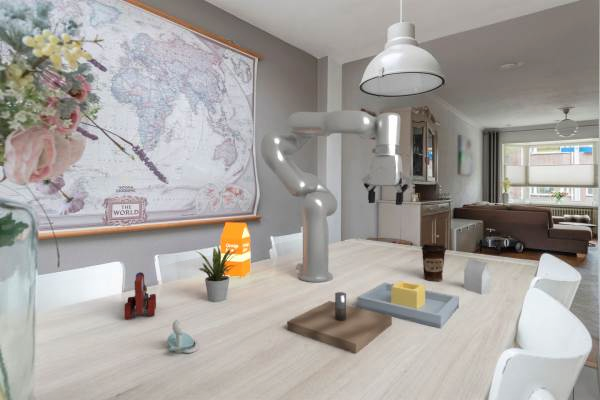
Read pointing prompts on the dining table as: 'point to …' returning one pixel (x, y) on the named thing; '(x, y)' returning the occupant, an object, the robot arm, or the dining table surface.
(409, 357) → the dining table surface
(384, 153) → the robot arm
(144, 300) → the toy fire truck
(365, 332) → the board
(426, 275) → the coffee cup
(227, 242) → the orange juice
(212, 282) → the house plant
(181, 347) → the pacifier
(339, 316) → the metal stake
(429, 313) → the tray
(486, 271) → the grey house shaped block
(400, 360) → the dining table surface
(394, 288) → the collar
